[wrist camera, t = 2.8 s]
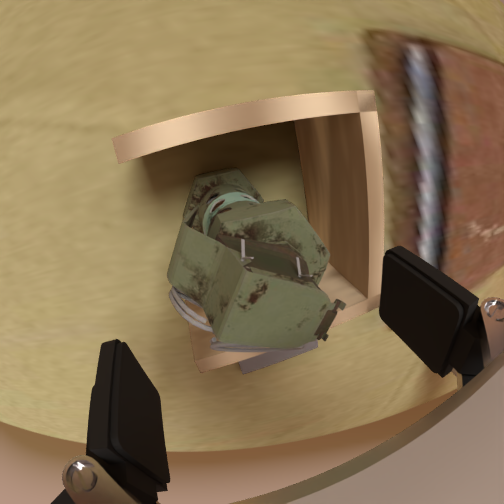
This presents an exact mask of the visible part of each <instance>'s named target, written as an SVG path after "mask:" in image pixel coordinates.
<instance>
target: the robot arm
mask: <svg viewBox="0 0 504 504" xmlns="http://www.w3.org/2000/svg"><path fill="white" fill-rule="evenodd" d="M478 300H479V298H478V297H476V296H475V295H474V294H472V293H471V292H469V291H468V290H467V289H465V288H464V287H462V286H461V285H460V284H458V283H457V282H455V281H454V280H452V279H451V278H450V277H448V276H447V275H445V274H444V273H442V272H441V271H439V270H438V269H436V268H435V267H433V266H432V265H430V264H429V263H427V262H426V261H424V260H423V259H421V258H420V257H418V256H416V255H415V254H413V253H412V252H410V251H409V250H407V249H405V248H404V247H402V246H397V247H394V248H392V249H389V250H387V251H386V253H385V256H384V257H383V264H382V281H381V295H380V306H379V315H380V317H381V319H382V320H383V321H384V322H385V323H386V324H387V325H388V326H389V327H390V328H391V329H392V330H393V331H394V332H395V333H396V334H397V335H398V336H399V337H400V338H401V339H402V340H403V341H404V342H405V344H406V345H407V346H408V347H409V348H410V349H411V350H412V351H413V352H414V353H415V354H416V355H417V356H418V357H419V358H420V359H421V360H422V361H423V362H424V363H425V364H426V365H427V366H428V367H429V368H430V369H431V370H432V371H433V372H434V373H438V374H439V375H440V376H441V377H442V378H443V377H444V376H446V375H447V374H448V373H450V372H452V373H453V374H454V375H455V376H456V377H457V392H456V393H455V394H454V395H453V396H451V397H450V398H449V399H447V400H446V401H445V402H444V403H442V404H441V405H440V406H438V407H437V408H436V409H434V410H433V411H432V412H430V413H429V414H427V415H426V416H424V417H423V418H422V419H420V420H419V421H417V422H416V423H414V424H413V425H411V426H410V427H408V428H407V429H405V430H403V431H402V432H400V433H399V434H397V435H395V436H394V437H392V438H390V439H389V440H387V441H386V442H384V443H382V444H380V445H378V446H377V447H375V448H373V449H371V450H369V451H367V452H366V453H364V454H362V455H360V456H358V457H356V458H354V459H352V460H350V461H348V462H346V463H344V464H342V465H340V466H337V467H335V468H333V469H331V470H328V471H326V472H324V473H321V474H319V475H317V476H314V477H312V478H309V479H307V480H304V481H302V482H299V483H296V484H294V485H291V486H288V487H285V488H282V489H279V490H277V491H273V492H270V493H267V494H264V495H260V496H257V497H253V498H250V499H246V500H242V501H238V502H234V503H230V504H504V300H503V299H500V298H495V297H491V298H487V299H485V300H484V301H483V302H482V303H481V306H480V307H479V306H478V305H477V304H478ZM62 481H63V485H64V487H65V489H64V490H63V491H62V492H61V494H60V495H59V496H58V497H57V498H56V499H55V500H54V501H53V502H52V503H51V504H160V503H159V502H158V501H157V500H158V497H157V492H161V491H168V490H167V484H166V483H169V482H170V474H169V468H168V461H167V454H166V447H165V439H164V431H163V421H162V412H161V401H160V396H159V393H158V391H157V389H156V388H155V387H154V385H153V384H152V382H151V381H150V379H149V378H148V376H147V375H146V373H145V372H144V370H143V369H142V367H141V366H140V364H139V363H138V361H137V360H136V358H135V356H134V355H133V353H132V352H131V350H130V348H129V347H128V345H127V344H126V343H125V342H122V343H121V341H120V340H118V339H115V340H112V341H108V342H104V343H102V345H101V349H100V355H99V361H98V367H97V374H96V381H95V385H94V386H93V388H92V393H91V401H90V410H89V420H88V431H87V447H86V456H82V455H80V456H77V457H74V458H73V459H71V460H70V461H69V462H68V463H67V464H66V465H65V467H64V470H63V474H62Z"/></svg>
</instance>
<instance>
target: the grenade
mask: <svg viewBox="0 0 504 504" xmlns="http://www.w3.org/2000/svg"><path fill="white" fill-rule="evenodd" d="M263 201H264V199H263V198H262V197H261V196H260V194H259V193H258V192H257V191H256V189H255V188H254V187H253V186H252V184H251V183H250V182H249V181H248V180H247V178H246V177H245V176H244V175H243V174H242V173H241V172H240V170H239V169H237V168H230V169H225V170H220V171H215V172H210V173H206V174H202V175H198V176H196V177H195V180H194V182H193V185H192V188H191V191H190V194H189V197H188V200H187V203H186V206H185V210H184V213H183V215H184V220H183V221H182V225H181V228H180V231H179V234H178V238H177V241H176V244H175V248H174V251H173V254H172V258H171V261H170V265H169V269H168V272H167V278H168V280H169V282H170V283H171V285H172V288H171V291H170V292H169V297H170V300H171V302H172V304H173V305H174V307H175V309H176V310H177V311H178V312H179V314H180V315H181V316H182V317H183V318H184V319H186V320H187V321H188V322H190V323H191V324H192V325H194V326H196V327H199V328H201V329H203V330H205V331H209V332H212V333H213V334H215V336H216V337H213V338H212V339H211V340H210V341H209V342H210V343H211V345H210V348H211V349H212V350H216V351H225V352H276V351H290V350H299V349H304V347H305V346H304V344H306V343H308V342H314V341H316V339H318V340H320V339H321V338H322V339H323V340H324V341H326V339H327V338H328V335H327V334H326V333H327V331H328V329H329V328H330V326H331V324H332V322H333V321H334V319H335V317H336V315H337V309H338V308H340V309H341V310H342V311H343V310H344V308H345V306H346V303H344V302H343V301H341V300H339V299H335V301H334V303H331V301H330V299H329V297H328V295H327V294H326V293H325V292H324V291H322V290H321V289H320V288H319V287H318V285H319V283H320V281H321V279H322V277H323V275H324V272H325V270H326V267H327V264H328V261H329V257H330V253H329V251H328V250H327V248H326V247H325V245H324V243H323V242H322V241H321V239H320V238H319V236H318V235H317V234H316V232H315V231H314V229H313V228H312V227H311V225H310V224H309V222H308V221H307V220H306V218H305V217H304V216H303V215H302V213H301V212H300V211H299V210H298V208H297V207H296V206H295V205H293V204H292V203H290V202H289V201H287V200H286V199H285V200H277V201H269V202H264V203H263ZM192 227H193V229H192ZM178 291H179V292H178ZM181 292H182V293H181ZM183 293H184V294H183ZM180 297H181V298H183V299H185V300H187V301H189V302H191V303H193V304H195V305H197V306H199V307H201V308H202V309H203V310H204V312H205V314H206V317H207V319H208V321H209V323H210V325H211V326H207V325H204V324H205V323H206V321H207V319H206V318H204V317H202V316H200V315H198V314H197V313H195V312H194V311H192V310H191V309H190V308H189V307H188V306H187V305H186V304H185V303H184V302H183V300H182V299H181V298H180ZM180 306H181V307H182V308H183V309H184V310H185V311H184V310H183V309H182V308H181V307H180ZM186 312H187V313H188V314H189V315H191V316H192V317H193V318H195V319H196V320H198V321H200V322H202V323H204V324H202V323H200V322H198V321H195V320H194V319H193V318H191V317H190V316H189V315H187V314H186ZM216 338H217V339H218V340H219V341H217V339H216ZM229 347H235V348H229ZM266 347H269V348H266Z"/></svg>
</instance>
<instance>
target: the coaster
mask: <svg viewBox="0 0 504 504" xmlns="http://www.w3.org/2000/svg"><path fill="white" fill-rule="evenodd" d="M304 346H305V347H304V349H299V350H290V351H276V352H266V353H263V354H260V355H257V356H255V357H251V358H248V359H245V360H242V361H239V365H240V368H241V371H242V373H243V374H246V373H249V372H252V371H255V370H258V369H261V368H264V367H267V366H270V365H272V364H275V363H278V362H281V361H284V360H286V359H289V358H292V357H294V356H297V355H300V354H302V353H305V352H307V351H310V350H312V349H315V348H317V347H318V341H317V339H316V341H314V342H308V343H306V344H304Z"/></svg>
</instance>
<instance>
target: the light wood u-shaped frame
mask: <svg viewBox="0 0 504 504" xmlns="http://www.w3.org/2000/svg"><path fill="white" fill-rule="evenodd" d="M291 120H294V125H295V130H296V136H297V142H298V148H299V155H300V161H301V168H302V174H303V181H304V189H305V196H306V203H307V211H308V219H309V224H310V225H311V227H312V228H313V229H314V231H315V232H316V234H317V235H318V236H319V238H320V239H321V241H322V242H323V243H324V245H325V247H326V248H327V250H328V251H329V253H330V257H329V261H328V264H327V267H326V270H325V272H324V275H323V277H322V279H321V281H320V283H319V285H318V287H319V288H320V289H321V290H322V291H324V292H325V293H326V294H327V295H328V297H329V299H330V301H331V303H334V301H335V299H339V300H341V301H343V302H344V303H346V306H345V308H344V310H343V311H342V310H341V309H340V308H338V309H337V315H336V317H335V319H334V321H333V322H332V324H331V326H330V328H332V327H335V326H337V325H339V324H342V323H344V322H346V321H349V320H351V319H353V318H356V317H358V316H360V315H362V314H365V313H367V312H369V311H371V310H373V309H376V308H378V307H379V306H380V295H381V281H382V264H383V257H384V191H383V171H382V156H381V144H380V134H379V125H378V116H377V109H376V101H375V95H374V90H360V91H338V92H323V93H311V94H301V95H293V96H284V97H277V98H270V99H263V100H257V101H251V102H245V103H240V104H235V105H230V106H225V107H220V108H215V109H211V110H206V111H202V112H198V113H194V114H190V115H186V116H182V117H178V118H174V119H171V120H167V121H164V122H160V123H157V124H153V125H150V126H147V127H144V128H141V129H138V130H134V131H131V132H129V133H126V134H123V135H120V136H117V137H114V138H112V141H113V145H114V149H115V152H116V156H117V159H118V163H119V164H120V163H123V162H126V161H129V160H132V159H135V158H138V157H141V156H144V155H147V154H150V153H153V152H156V151H160V150H163V149H166V148H170V147H173V146H177V145H180V144H184V143H188V142H191V141H195V140H199V139H203V138H207V137H211V136H215V135H219V134H224V133H228V132H232V131H237V130H242V129H247V128H252V127H257V126H262V125H267V124H273V123H279V122H285V121H291ZM185 303H186V305H187V306H188V307H189V308H190V309H191V310H192V311H194V312H195V313H197V314H198V315H200V316H202V317H204V318H206V319H207V317H206V314H205V312H204V310H203V309H202V308H201V307H199V306H197V305H195V304H193V303H191V302H189V301H187V300H185ZM187 315H189V314H188V313H187ZM189 316H190V317H191V318H193V317H192V316H191V315H189ZM193 319H194V320H195V321H198V320H196V319H195V318H193ZM198 322H200V321H198ZM188 323H189V330H190V336H191V342H192V348H193V354H194V360H195V363H196V365H197V367H198V369H199V371H200V373H203V372H206V371H210V370H213V369H216V368H220V367H223V366H226V365H230V364H233V363H236V362H239V361H242V360H245V359H248V358H251V357H255V356H257V355H260V354H263V353H266V352H225V351H216V350H212V349H211V348H210V345H211V343H210V342H209V341H210V340H211V339H212V338H213V337H216V336H215V334H213V333H212V332H209V331H205V330H203V329H201V328H199V327H196V326H194V325H192V324H191V323H190V322H188ZM200 323H202V322H200ZM202 324H204V323H202ZM204 325H207V326H211V325H210V323H209V321H208V319H207V321H206V323H205V324H204ZM330 328H329V329H330ZM216 339H217V338H216ZM217 341H219V340H218V339H217ZM229 348H235V347H229ZM266 348H269V347H266Z"/></svg>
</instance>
